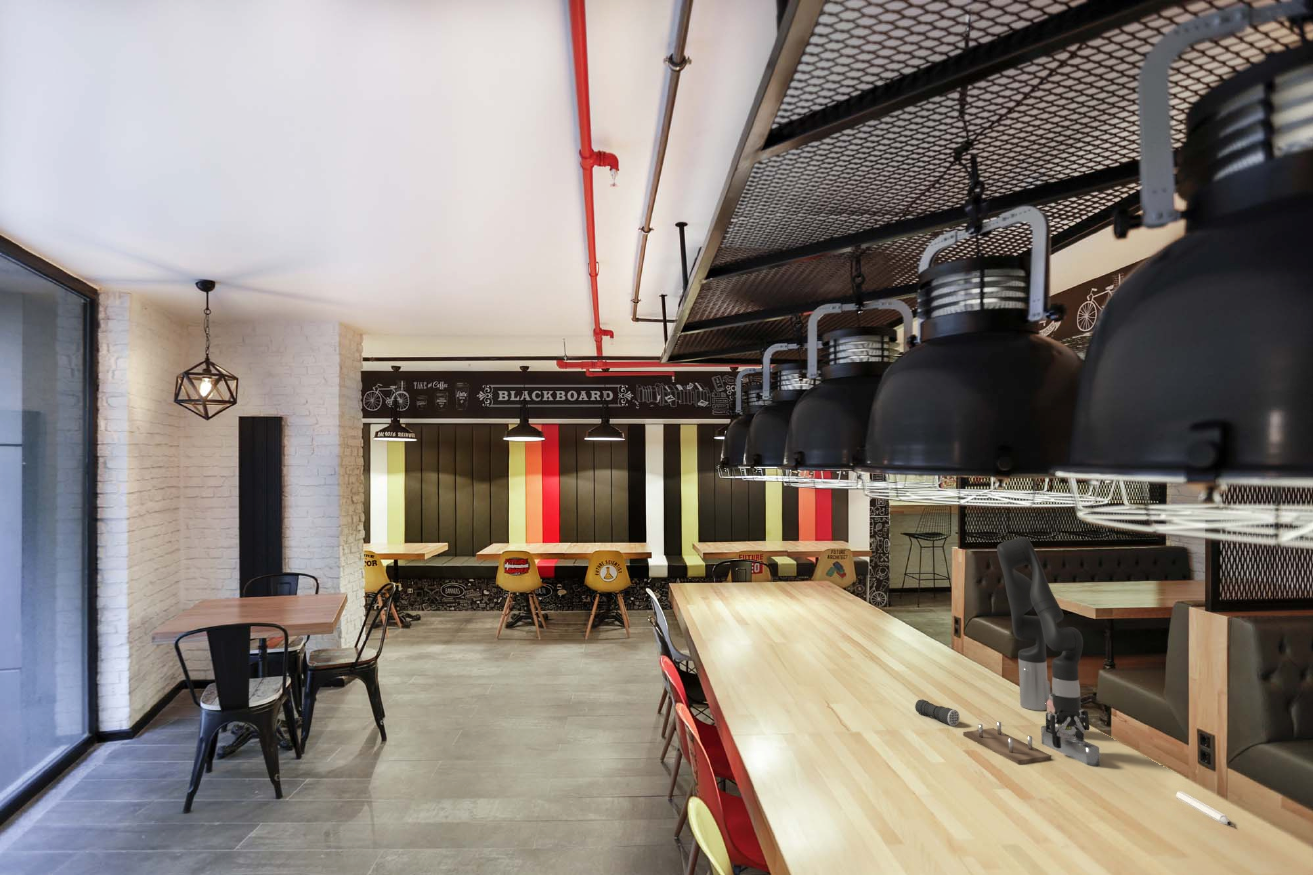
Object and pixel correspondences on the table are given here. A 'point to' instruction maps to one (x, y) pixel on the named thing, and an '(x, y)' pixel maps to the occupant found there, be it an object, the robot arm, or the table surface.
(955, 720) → the flashlight
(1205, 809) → the marker
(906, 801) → the table surface
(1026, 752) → the tool rest
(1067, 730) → the beverage can
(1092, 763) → the grey long metal bar
